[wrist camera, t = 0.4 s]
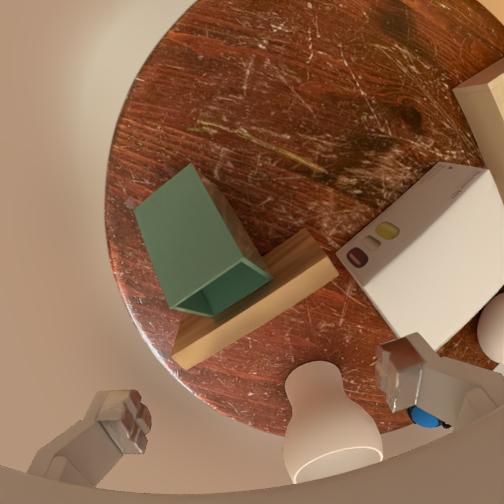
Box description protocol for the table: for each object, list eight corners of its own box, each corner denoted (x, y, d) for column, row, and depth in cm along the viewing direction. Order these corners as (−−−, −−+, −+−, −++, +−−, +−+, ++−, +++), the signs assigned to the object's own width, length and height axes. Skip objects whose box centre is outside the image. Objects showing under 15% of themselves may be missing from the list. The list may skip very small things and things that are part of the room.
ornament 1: (402, 411, 43) (425, 453, 33) (395, 381, 40) (422, 427, 31) (445, 386, 42) (473, 424, 32) (442, 353, 39) (476, 393, 30)
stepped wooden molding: (184, 308, 35) (170, 356, 26) (304, 227, 32) (327, 255, 24) (217, 344, 37) (213, 396, 28) (333, 270, 34) (360, 309, 26)
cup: (365, 372, 39) (405, 454, 25) (311, 417, 42) (332, 500, 27) (314, 337, 37) (347, 430, 23) (257, 389, 39) (265, 483, 25)
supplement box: (437, 158, 30) (490, 166, 21) (477, 240, 34) (523, 265, 25) (331, 252, 33) (361, 288, 25) (387, 325, 37) (419, 368, 28)
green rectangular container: (146, 199, 31) (104, 232, 20) (197, 159, 30) (176, 170, 19) (215, 284, 34) (209, 350, 23) (265, 249, 33) (282, 305, 22)
